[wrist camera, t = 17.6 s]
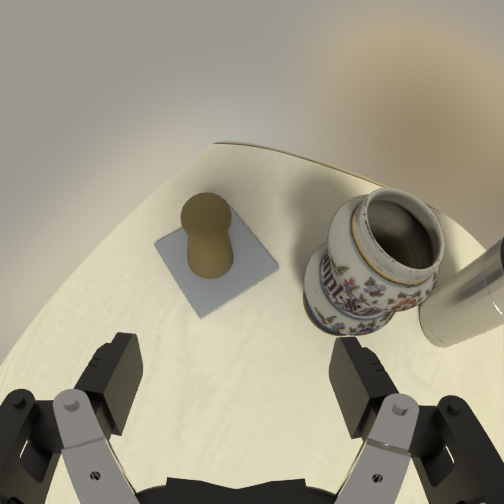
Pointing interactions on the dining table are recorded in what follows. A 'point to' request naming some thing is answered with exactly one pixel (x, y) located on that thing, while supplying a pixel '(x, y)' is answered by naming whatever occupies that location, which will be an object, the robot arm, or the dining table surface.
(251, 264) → the slate tile
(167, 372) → the dining table surface
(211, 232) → the brown pawn
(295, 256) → the dining table surface
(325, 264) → the apothecary jar
